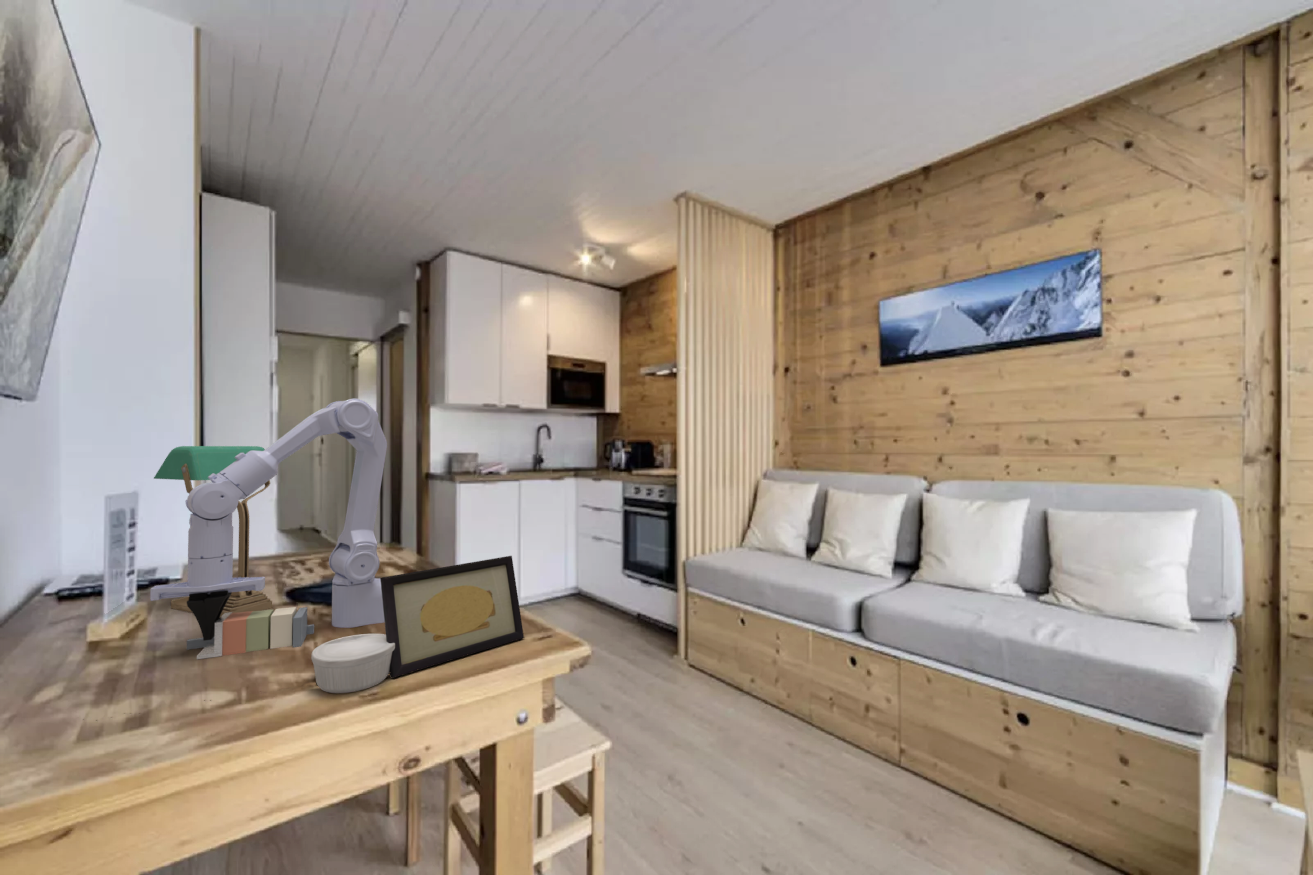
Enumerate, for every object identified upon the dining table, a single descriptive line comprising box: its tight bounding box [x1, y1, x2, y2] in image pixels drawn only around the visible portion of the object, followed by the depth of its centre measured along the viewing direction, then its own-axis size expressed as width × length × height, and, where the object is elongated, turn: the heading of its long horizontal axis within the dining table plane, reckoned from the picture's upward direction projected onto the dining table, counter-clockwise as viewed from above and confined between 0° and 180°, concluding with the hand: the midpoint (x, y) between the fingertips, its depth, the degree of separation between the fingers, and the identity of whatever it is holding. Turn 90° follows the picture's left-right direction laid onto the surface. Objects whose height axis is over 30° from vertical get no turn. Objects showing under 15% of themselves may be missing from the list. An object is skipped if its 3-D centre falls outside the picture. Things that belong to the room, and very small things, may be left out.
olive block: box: [245, 608, 275, 653], centre depth 91 cm, size 3×4×6 cm
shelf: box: [186, 606, 315, 651], centre depth 90 cm, size 18×8×6 cm, turn 116°
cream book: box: [269, 606, 298, 650], centre depth 93 cm, size 3×4×6 cm
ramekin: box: [310, 633, 395, 694], centre depth 81 cm, size 11×11×5 cm
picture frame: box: [379, 555, 525, 679], centre depth 93 cm, size 23×9×15 cm, turn 137°
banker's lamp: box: [153, 445, 273, 617], centre depth 116 cm, size 16×21×35 cm
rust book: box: [222, 611, 253, 656], centre depth 90 cm, size 3×5×6 cm, turn 26°
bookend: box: [196, 612, 232, 660], centre depth 89 cm, size 3×6×6 cm, turn 26°
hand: (209, 638), depth 88 cm, fingers closed
